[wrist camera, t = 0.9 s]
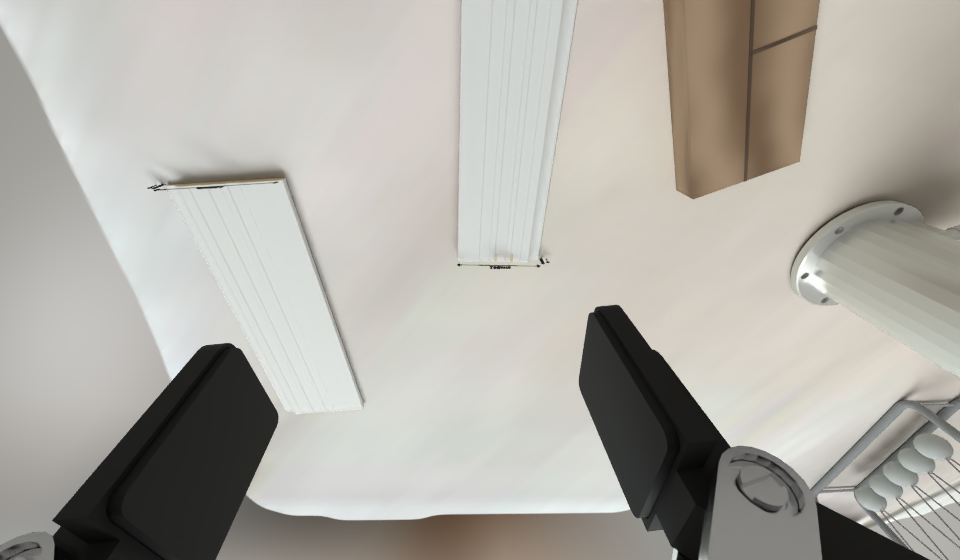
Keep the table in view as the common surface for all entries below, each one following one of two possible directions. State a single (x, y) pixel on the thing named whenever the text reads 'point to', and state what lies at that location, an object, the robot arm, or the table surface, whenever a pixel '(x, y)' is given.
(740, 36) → the plank row
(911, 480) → the newton's cradle
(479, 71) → the baseboard
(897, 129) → the table surface
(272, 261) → the baseboard molding
